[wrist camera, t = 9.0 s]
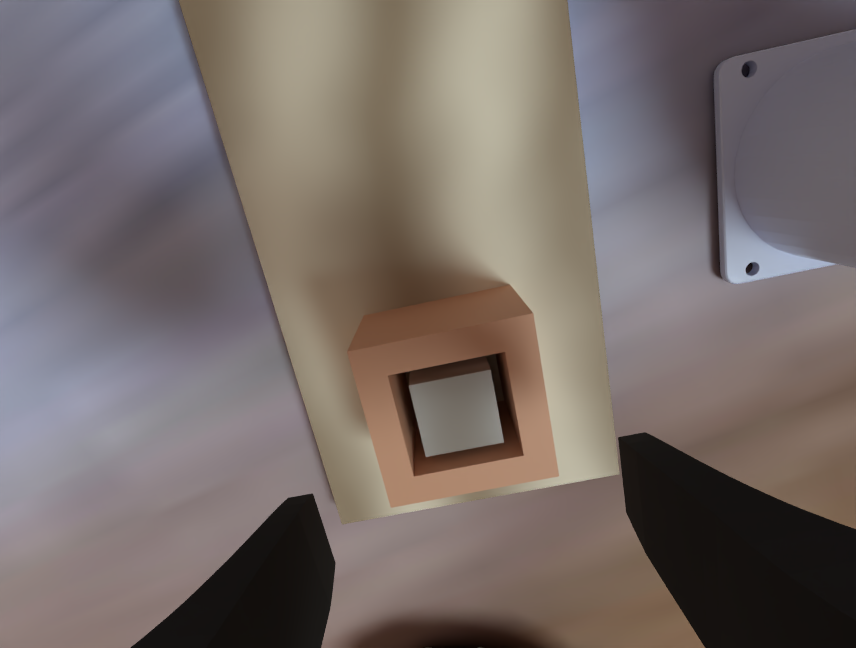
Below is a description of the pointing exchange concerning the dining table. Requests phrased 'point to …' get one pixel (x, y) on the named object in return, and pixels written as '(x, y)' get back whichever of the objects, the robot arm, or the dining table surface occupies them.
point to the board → (414, 207)
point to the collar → (440, 344)
